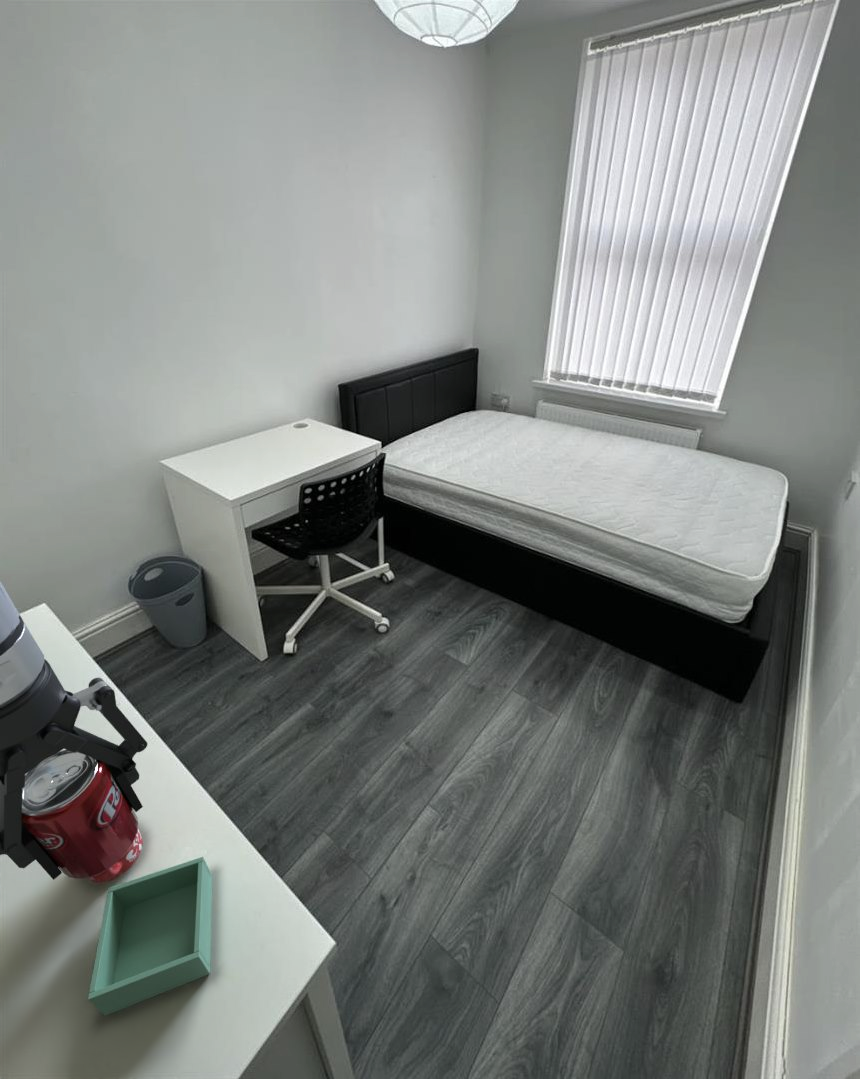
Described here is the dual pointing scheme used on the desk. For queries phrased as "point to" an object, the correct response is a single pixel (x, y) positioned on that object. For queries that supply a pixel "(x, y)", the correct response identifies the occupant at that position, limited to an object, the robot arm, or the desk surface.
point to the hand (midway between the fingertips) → (94, 832)
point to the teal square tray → (153, 936)
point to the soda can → (78, 813)
